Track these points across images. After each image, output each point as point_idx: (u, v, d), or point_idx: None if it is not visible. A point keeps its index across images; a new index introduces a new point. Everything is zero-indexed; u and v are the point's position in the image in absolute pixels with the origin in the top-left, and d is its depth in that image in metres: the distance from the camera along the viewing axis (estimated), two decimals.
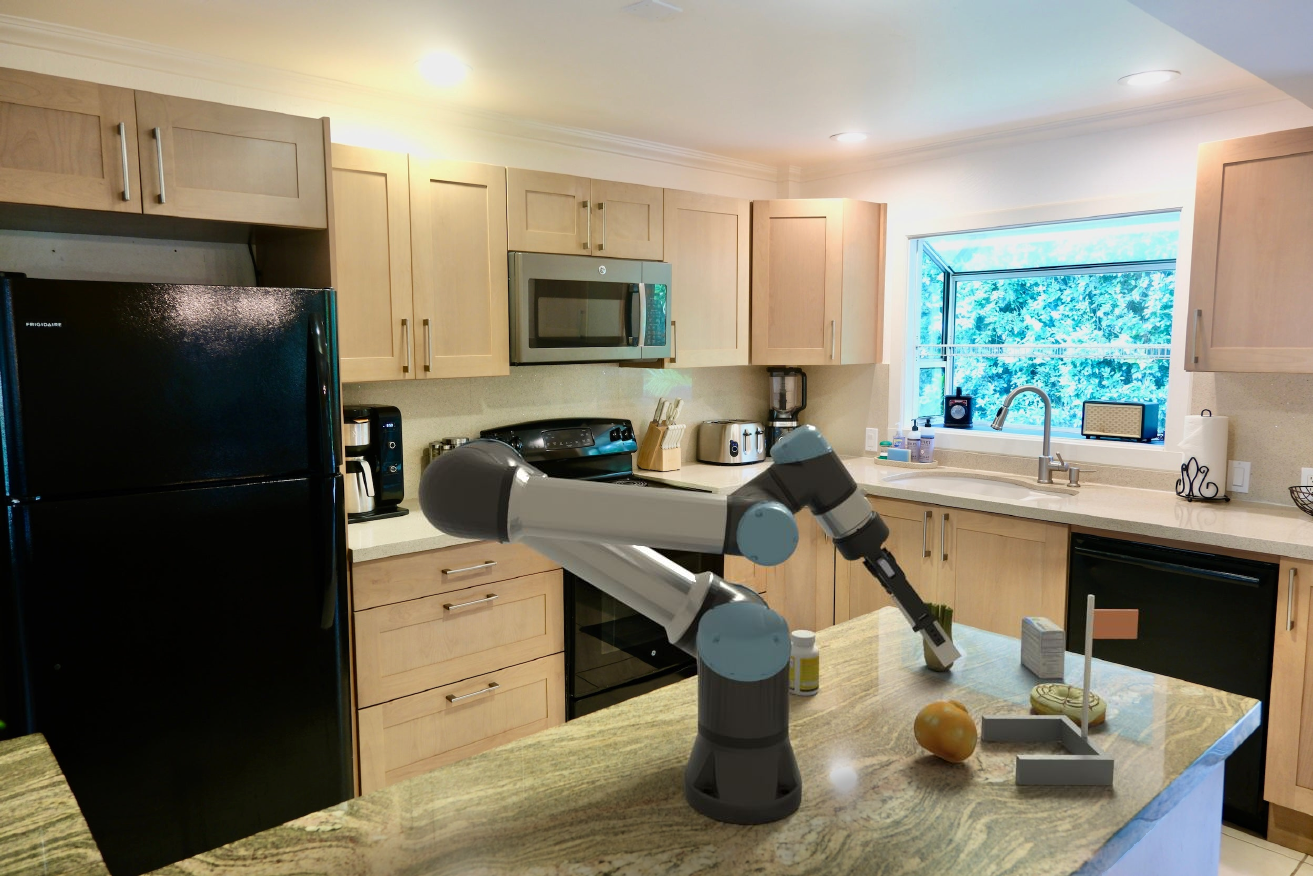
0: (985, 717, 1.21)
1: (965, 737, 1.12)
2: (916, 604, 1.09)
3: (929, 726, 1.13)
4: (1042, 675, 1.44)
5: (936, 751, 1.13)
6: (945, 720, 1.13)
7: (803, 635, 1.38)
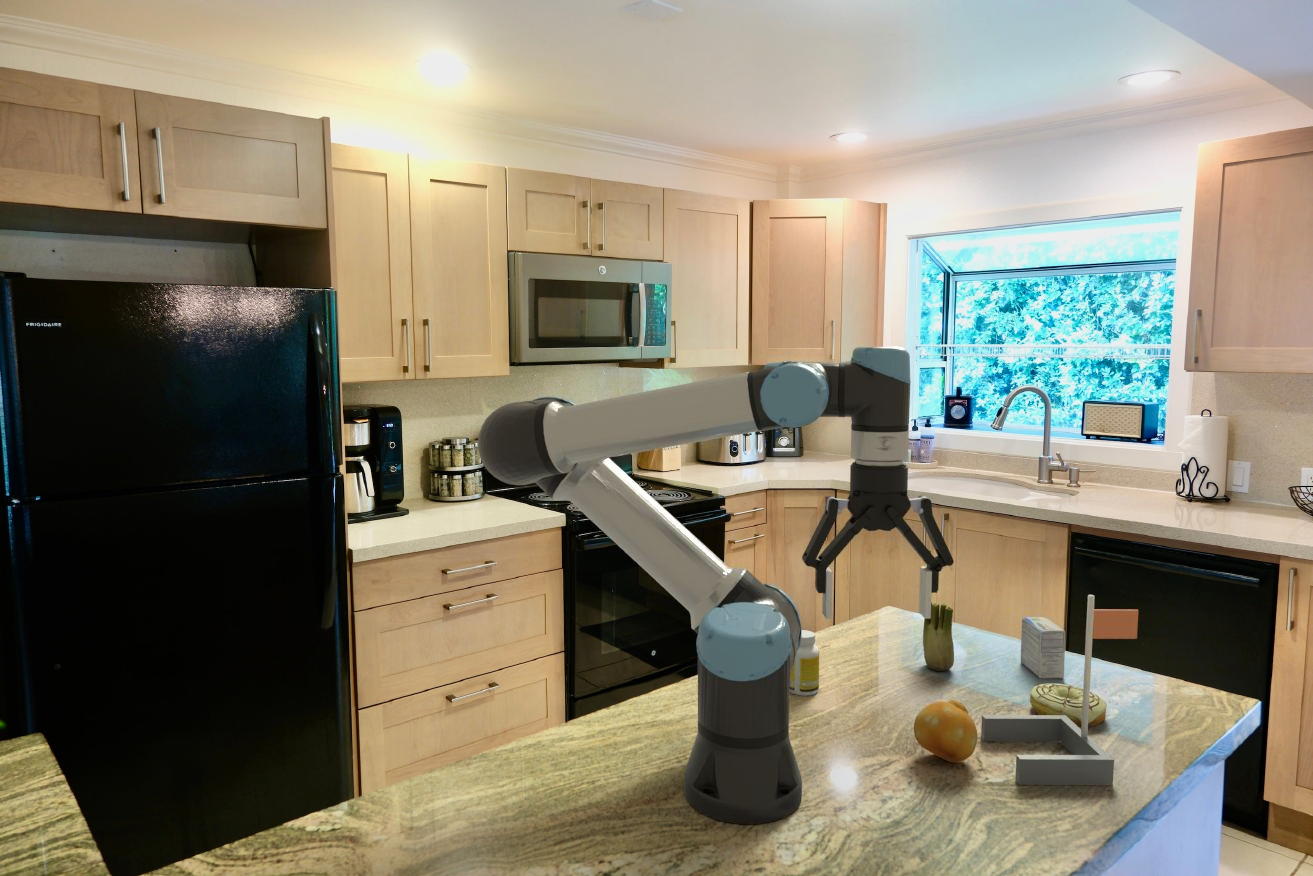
0: (985, 717, 1.21)
1: (965, 737, 1.12)
2: (811, 543, 1.13)
3: (929, 726, 1.13)
4: (1042, 675, 1.44)
5: (936, 751, 1.13)
6: (945, 720, 1.13)
7: (803, 635, 1.38)
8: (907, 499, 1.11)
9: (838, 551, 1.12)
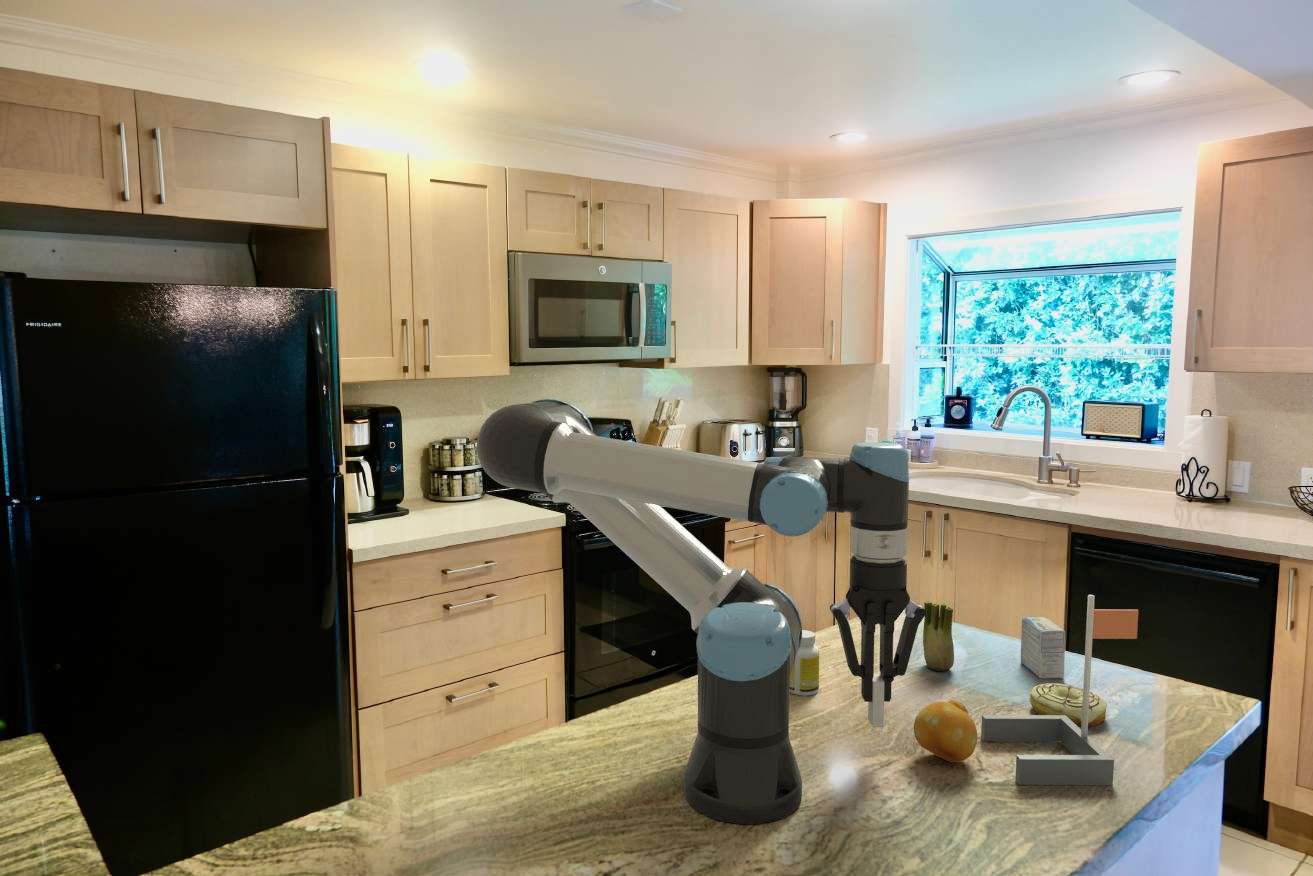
0: (985, 717, 1.21)
1: (965, 737, 1.12)
2: (846, 654, 1.14)
3: (929, 726, 1.13)
4: (1042, 675, 1.44)
5: (936, 751, 1.13)
6: (945, 720, 1.13)
7: (803, 635, 1.38)
8: (909, 598, 1.13)
9: (871, 655, 1.13)
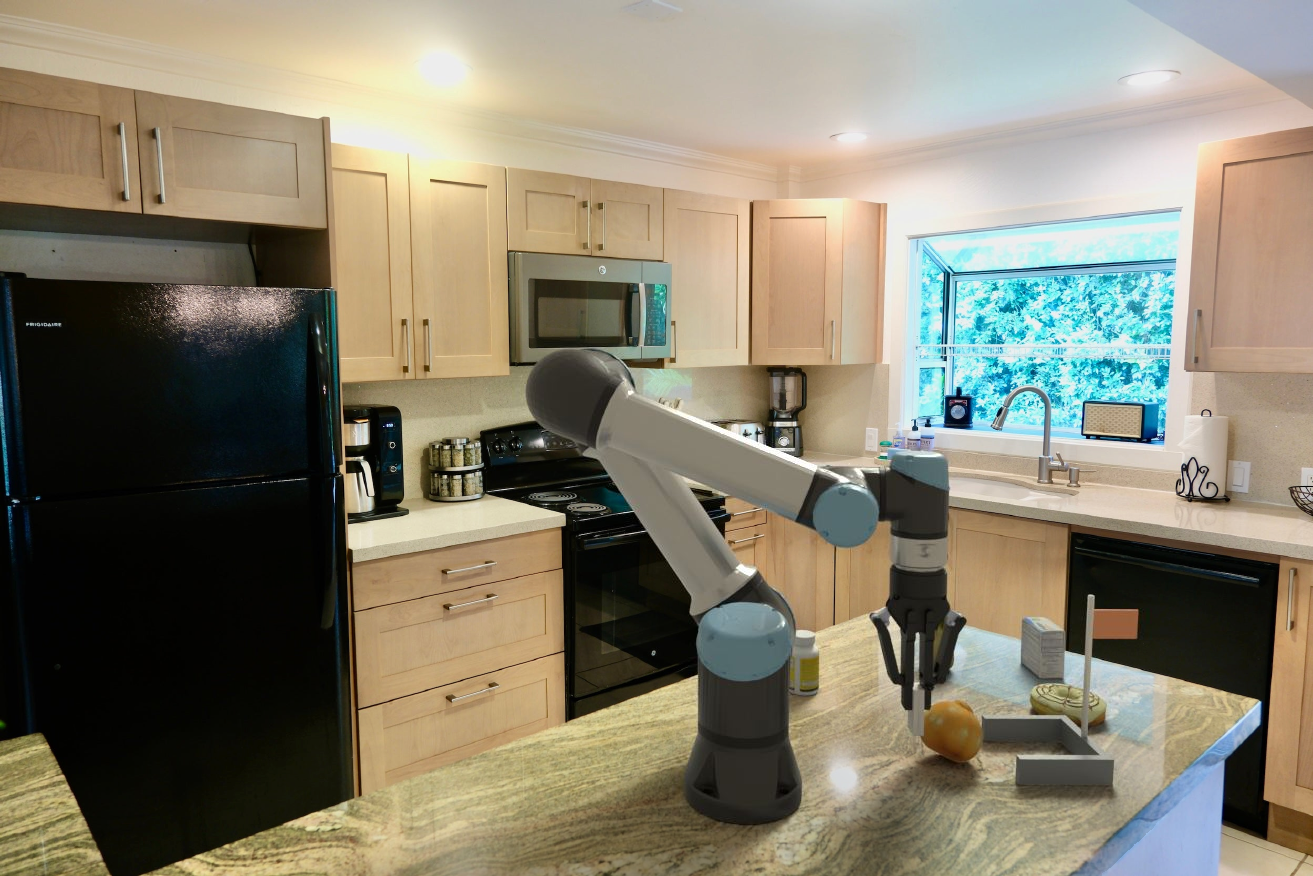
0: (985, 717, 1.21)
1: (970, 737, 1.12)
2: (886, 663, 1.14)
3: (934, 726, 1.13)
4: (1042, 675, 1.44)
5: (941, 751, 1.13)
6: (950, 720, 1.13)
7: (803, 635, 1.38)
8: (949, 606, 1.13)
9: (912, 664, 1.13)
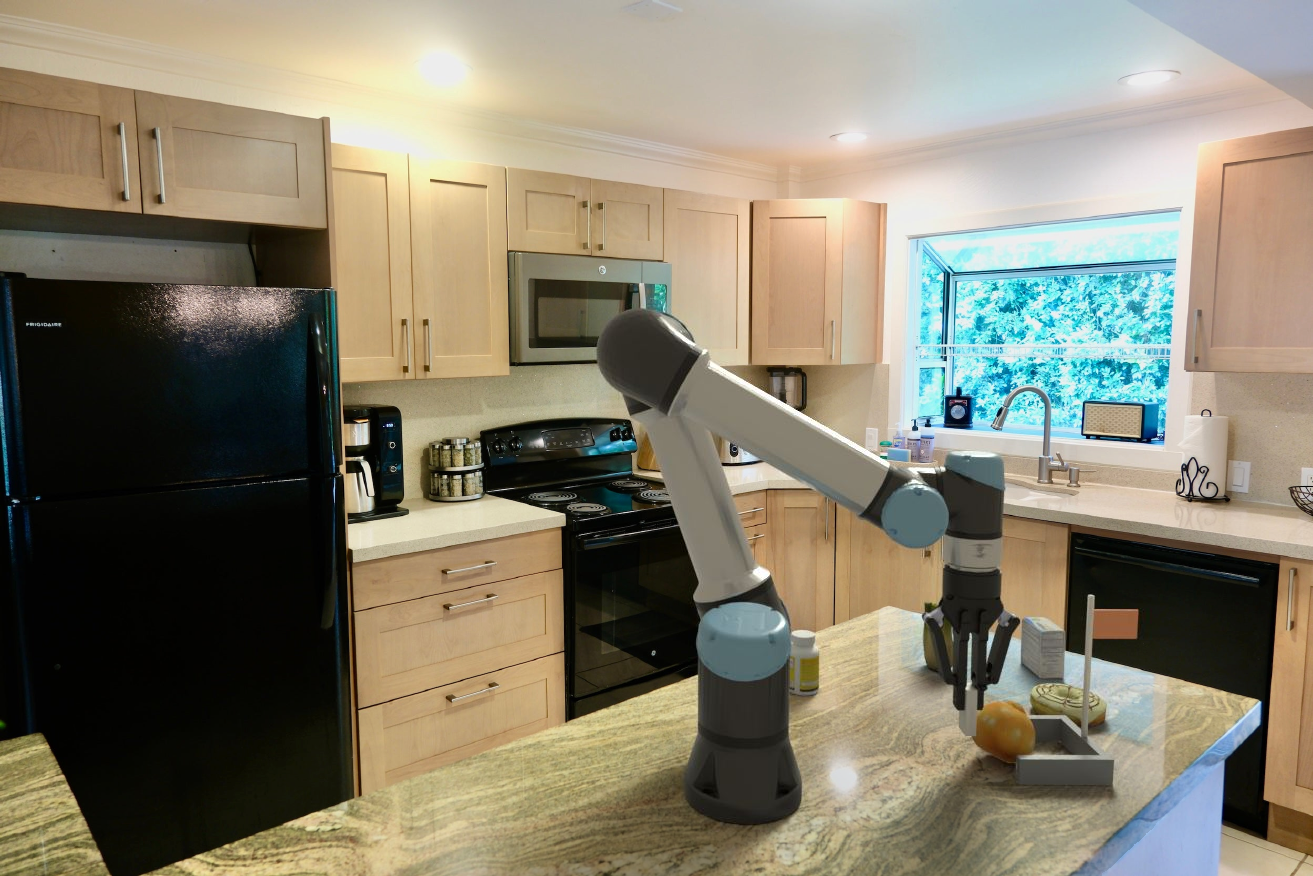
0: None
1: (1023, 737, 1.11)
2: (939, 663, 1.14)
3: (986, 726, 1.13)
4: (1042, 675, 1.44)
5: (993, 752, 1.13)
6: (1003, 721, 1.12)
7: (803, 635, 1.38)
8: (1003, 607, 1.12)
9: (965, 664, 1.13)
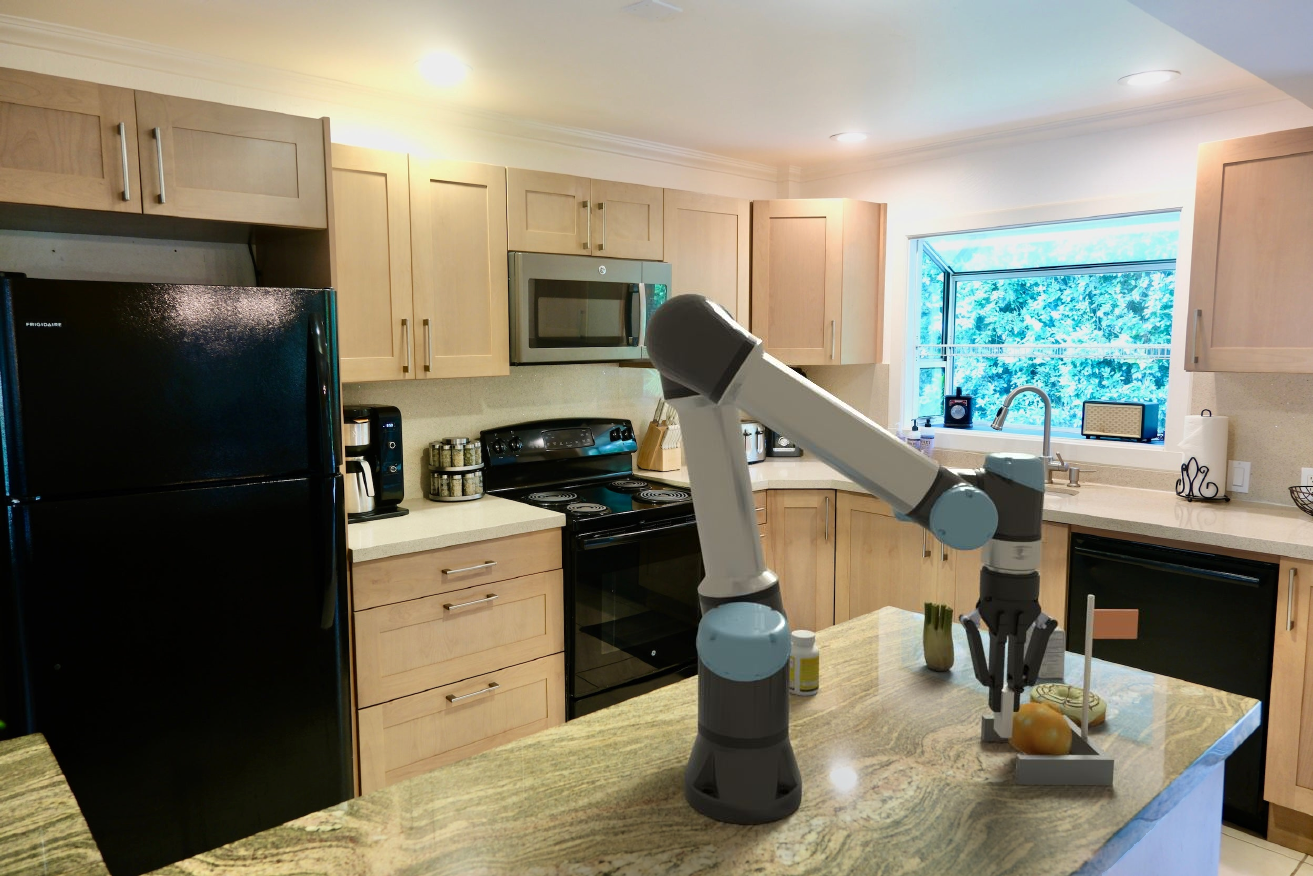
0: (985, 717, 1.21)
1: (1059, 738, 1.11)
2: (975, 664, 1.14)
3: (1022, 726, 1.13)
4: (1042, 675, 1.44)
5: (1029, 752, 1.12)
6: (1039, 721, 1.12)
7: (803, 635, 1.38)
8: None
9: (1002, 666, 1.13)
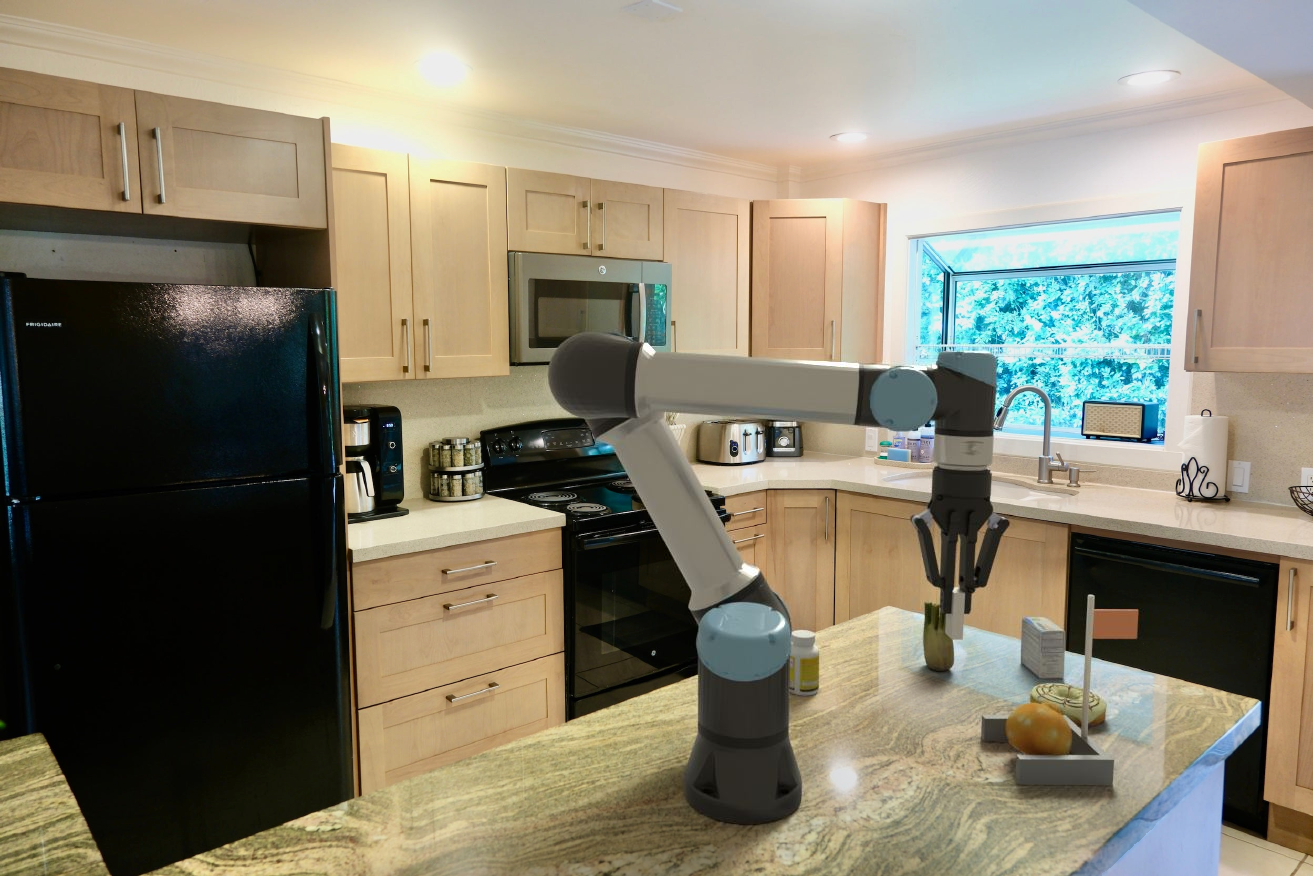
0: (985, 717, 1.21)
1: (1060, 738, 1.11)
2: (926, 565, 1.13)
3: (1022, 726, 1.13)
4: (1042, 675, 1.44)
5: (1029, 752, 1.12)
6: (1039, 721, 1.12)
7: (803, 635, 1.38)
8: (992, 508, 1.11)
9: (953, 566, 1.12)
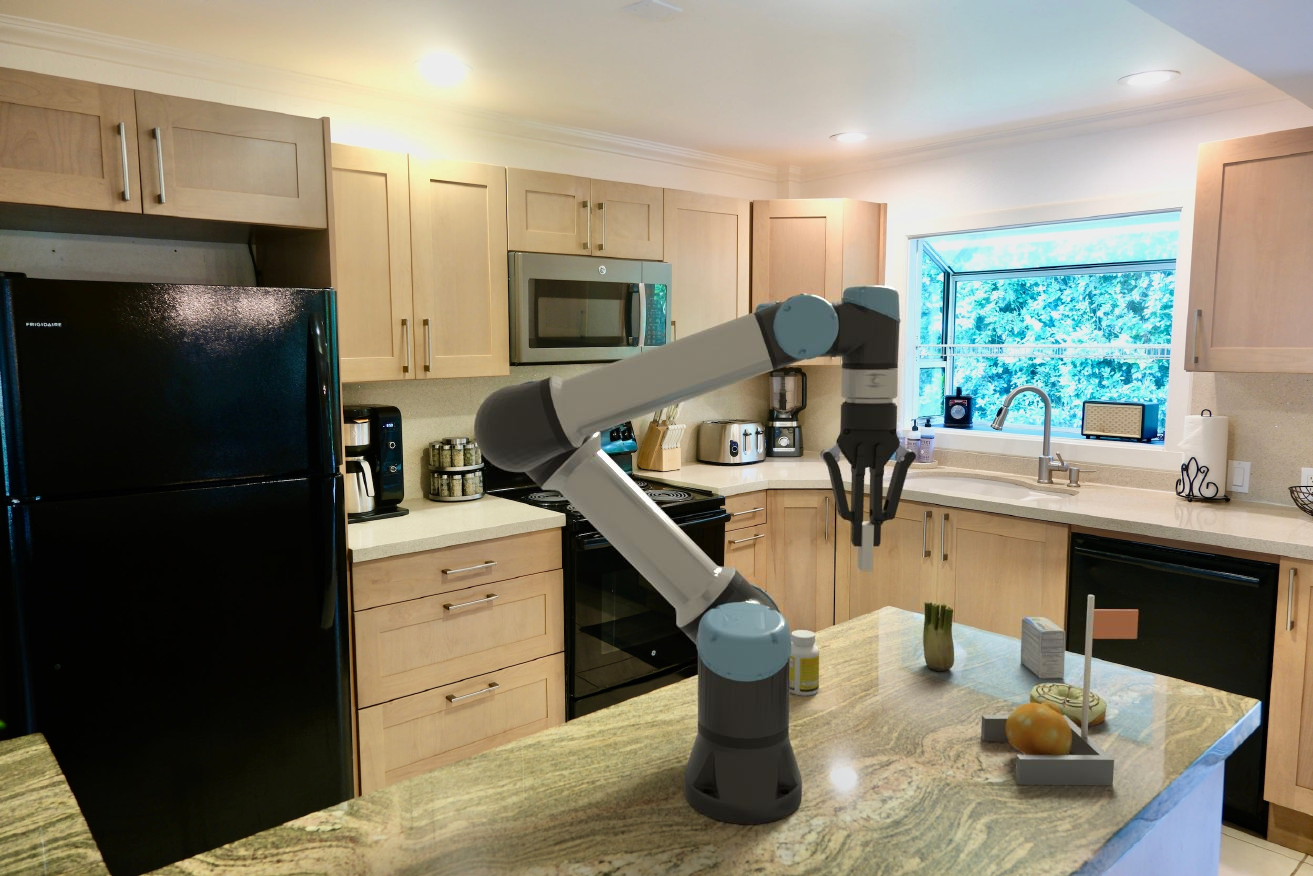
0: (985, 717, 1.21)
1: (1059, 738, 1.11)
2: (836, 499, 1.15)
3: (1022, 726, 1.13)
4: (1042, 675, 1.44)
5: (1029, 752, 1.12)
6: (1039, 721, 1.12)
7: (803, 635, 1.38)
8: (899, 441, 1.13)
9: (861, 499, 1.14)
